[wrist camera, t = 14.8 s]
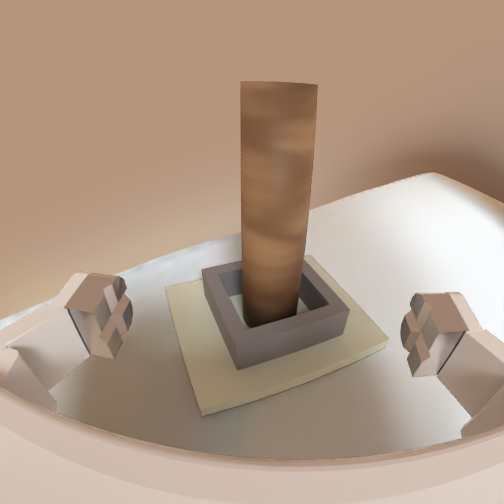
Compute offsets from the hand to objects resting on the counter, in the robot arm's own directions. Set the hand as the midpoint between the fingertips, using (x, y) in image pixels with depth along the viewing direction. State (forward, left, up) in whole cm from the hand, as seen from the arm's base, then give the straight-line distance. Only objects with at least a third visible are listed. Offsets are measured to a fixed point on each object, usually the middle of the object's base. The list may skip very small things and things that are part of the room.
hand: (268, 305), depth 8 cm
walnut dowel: (-5, -9, -11) cm, 15 cm away
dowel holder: (-5, -9, -12) cm, 16 cm away
